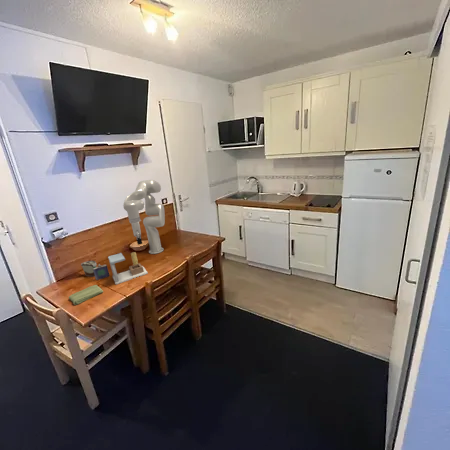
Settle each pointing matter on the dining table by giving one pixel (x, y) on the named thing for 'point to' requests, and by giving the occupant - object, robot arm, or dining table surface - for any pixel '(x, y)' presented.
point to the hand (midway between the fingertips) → (139, 242)
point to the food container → (89, 267)
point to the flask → (101, 272)
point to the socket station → (127, 275)
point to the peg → (134, 258)
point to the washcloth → (85, 294)
